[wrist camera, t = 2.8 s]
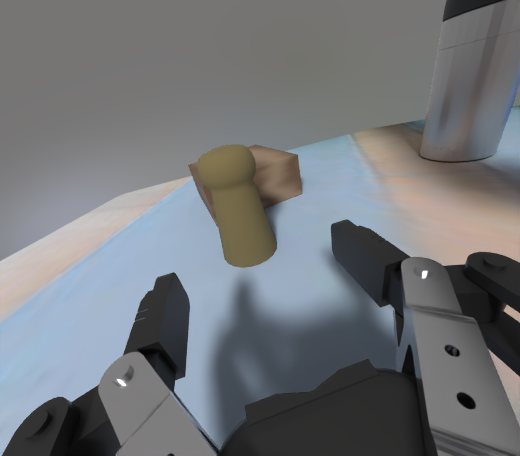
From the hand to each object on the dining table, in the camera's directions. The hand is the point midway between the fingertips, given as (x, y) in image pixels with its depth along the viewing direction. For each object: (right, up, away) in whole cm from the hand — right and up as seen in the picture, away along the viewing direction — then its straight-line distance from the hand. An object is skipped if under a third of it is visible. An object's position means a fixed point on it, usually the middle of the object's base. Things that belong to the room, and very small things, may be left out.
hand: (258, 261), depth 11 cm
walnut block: (-3, +8, +28) cm, 29 cm away
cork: (-1, -1, +13) cm, 13 cm away
